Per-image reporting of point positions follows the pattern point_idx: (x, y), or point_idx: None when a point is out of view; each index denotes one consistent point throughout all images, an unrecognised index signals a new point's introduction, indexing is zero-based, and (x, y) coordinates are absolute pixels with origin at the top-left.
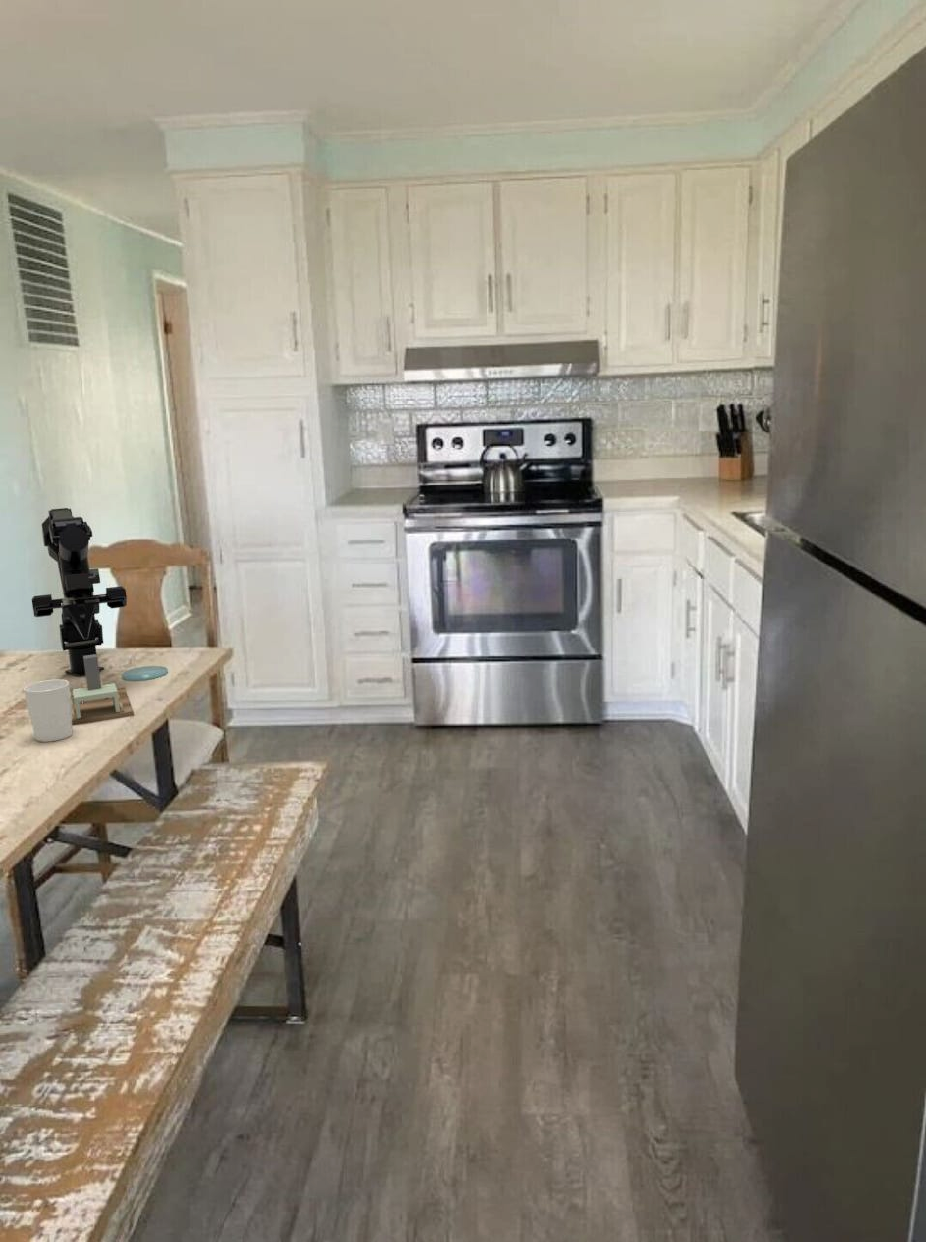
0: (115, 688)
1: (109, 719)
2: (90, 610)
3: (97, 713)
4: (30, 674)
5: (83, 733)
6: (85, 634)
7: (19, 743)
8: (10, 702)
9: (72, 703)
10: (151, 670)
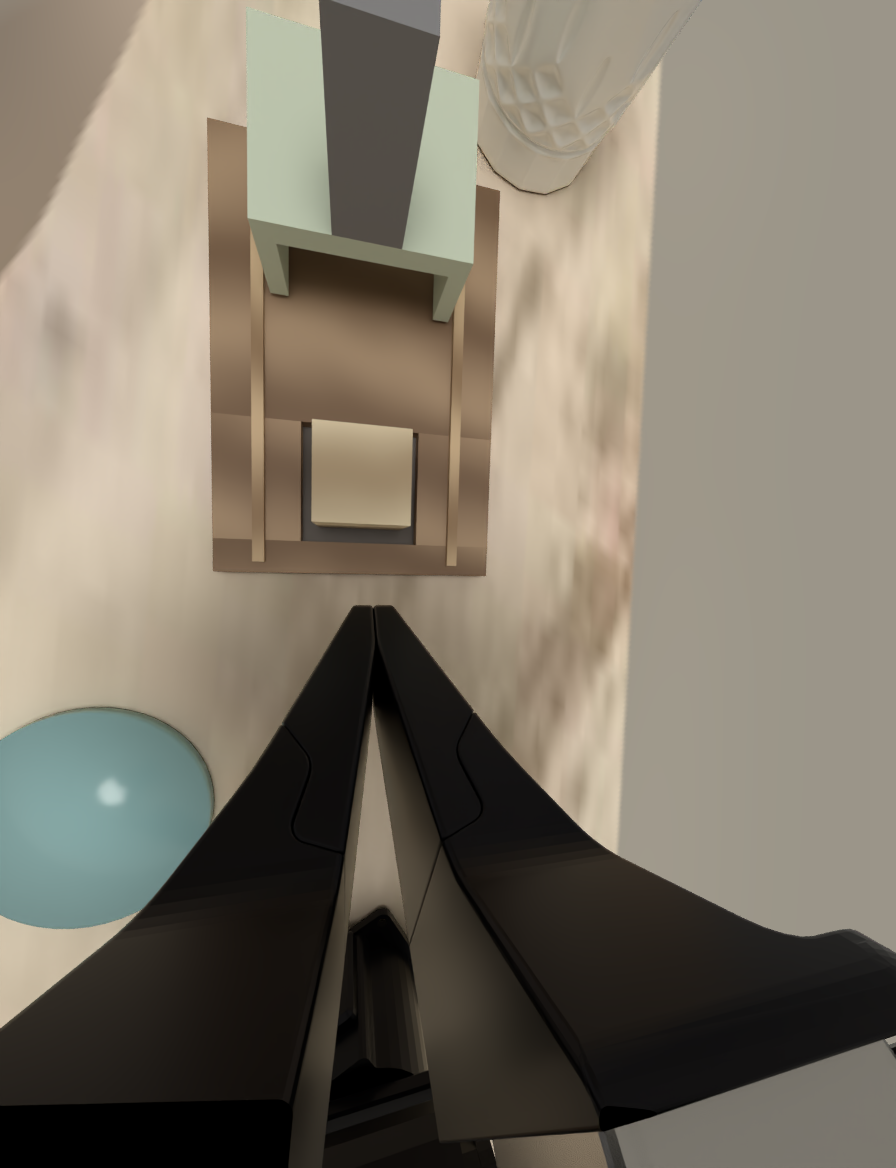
0: (253, 85)
1: None
2: (178, 931)
3: None
4: None
5: None
6: (370, 621)
7: (632, 135)
8: (627, 666)
9: (452, 422)
10: (44, 837)
